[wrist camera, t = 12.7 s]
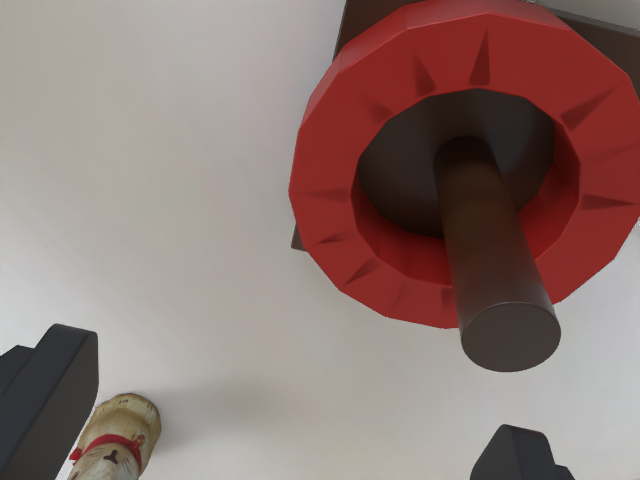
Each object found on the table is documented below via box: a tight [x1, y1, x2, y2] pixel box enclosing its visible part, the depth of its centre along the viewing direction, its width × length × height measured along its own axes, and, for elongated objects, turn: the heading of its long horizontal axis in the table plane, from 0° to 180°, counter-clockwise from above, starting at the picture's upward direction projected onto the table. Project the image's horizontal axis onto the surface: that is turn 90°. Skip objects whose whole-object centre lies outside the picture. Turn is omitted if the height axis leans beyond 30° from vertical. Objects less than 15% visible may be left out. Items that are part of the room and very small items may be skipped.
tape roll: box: [288, 0, 640, 329], centre depth 20 cm, size 12×12×3 cm
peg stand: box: [291, 0, 640, 372], centre depth 18 cm, size 12×12×12 cm
